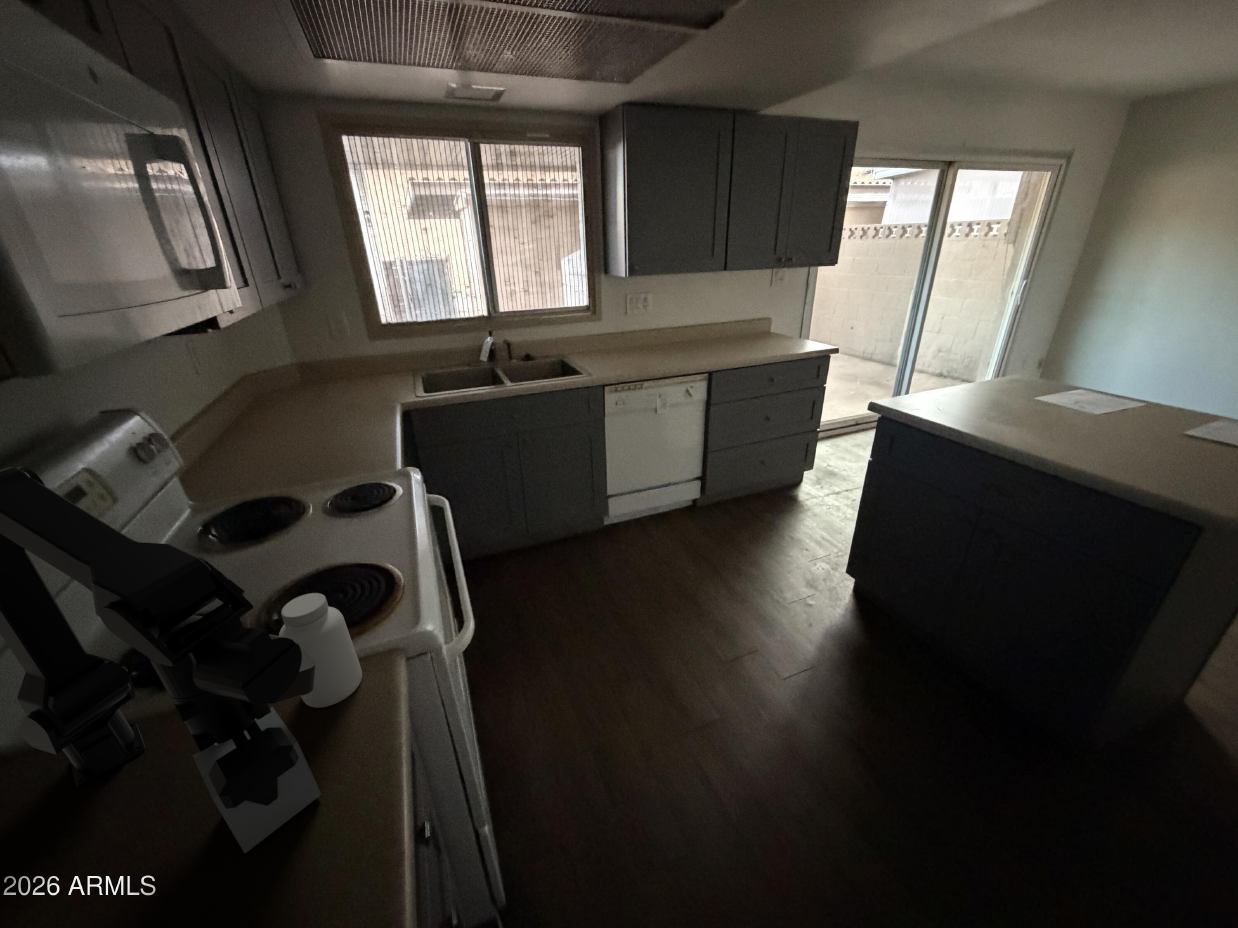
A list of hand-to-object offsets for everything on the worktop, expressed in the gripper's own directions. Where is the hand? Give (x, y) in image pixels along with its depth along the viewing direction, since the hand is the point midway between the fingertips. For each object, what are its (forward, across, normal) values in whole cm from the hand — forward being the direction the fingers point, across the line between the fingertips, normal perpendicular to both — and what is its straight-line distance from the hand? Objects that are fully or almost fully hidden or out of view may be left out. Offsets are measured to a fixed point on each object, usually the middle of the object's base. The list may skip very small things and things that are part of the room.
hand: (259, 779), depth 56 cm
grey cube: (+4, 0, 0) cm, 4 cm away
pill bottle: (+5, +12, -12) cm, 18 cm away
